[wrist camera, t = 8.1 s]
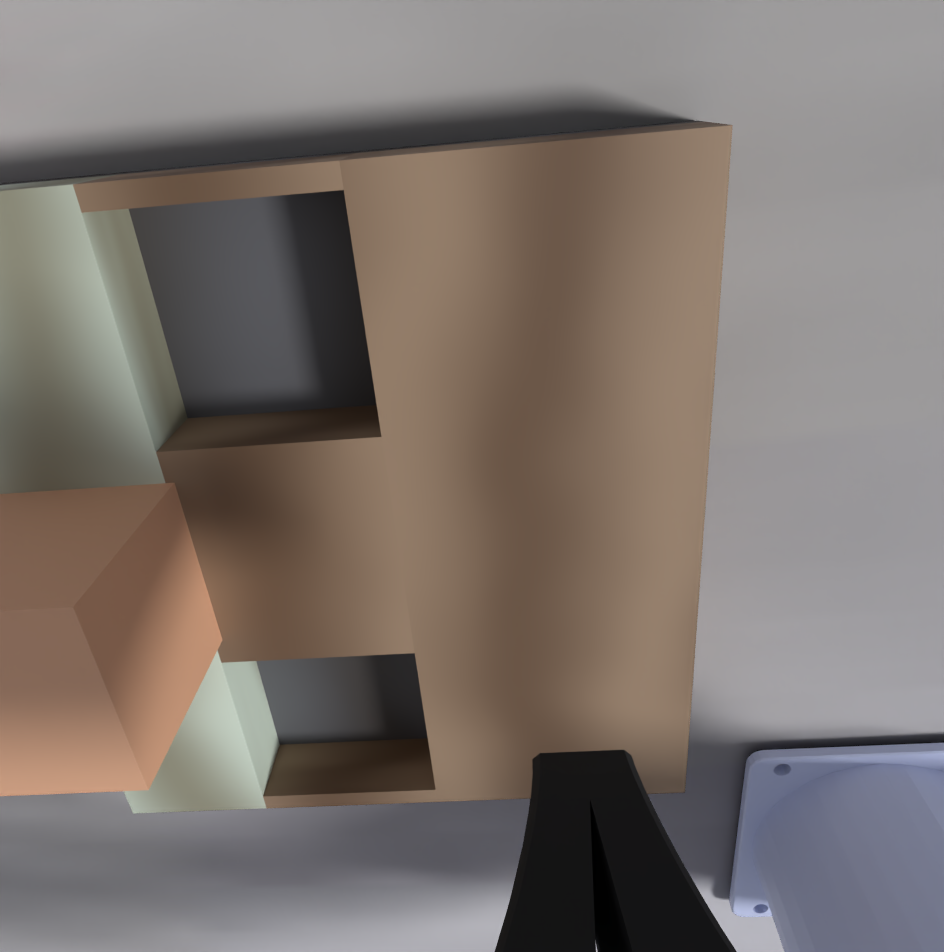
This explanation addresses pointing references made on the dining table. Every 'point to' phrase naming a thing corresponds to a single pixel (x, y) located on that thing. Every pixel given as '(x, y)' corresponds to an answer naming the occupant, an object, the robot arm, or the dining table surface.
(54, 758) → the terracotta cube
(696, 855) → the dining table surface
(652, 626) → the board
